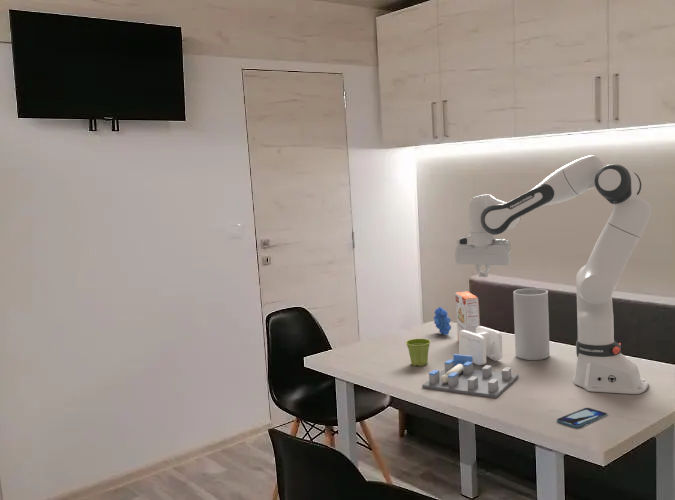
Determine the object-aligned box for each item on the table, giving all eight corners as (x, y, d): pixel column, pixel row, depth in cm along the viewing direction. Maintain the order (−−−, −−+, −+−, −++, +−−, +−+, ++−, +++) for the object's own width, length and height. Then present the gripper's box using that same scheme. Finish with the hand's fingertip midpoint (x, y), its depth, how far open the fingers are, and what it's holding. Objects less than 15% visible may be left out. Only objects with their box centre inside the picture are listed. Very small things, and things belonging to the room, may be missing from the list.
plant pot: (415, 369, 248) (413, 346, 247) (402, 363, 257) (401, 341, 255) (436, 364, 252) (435, 342, 251) (423, 358, 260) (422, 337, 259)
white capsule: (457, 369, 240) (458, 361, 239) (464, 372, 239) (466, 364, 238) (438, 382, 227) (440, 374, 226) (446, 386, 225) (448, 378, 225)
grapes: (427, 333, 298) (426, 306, 297) (440, 330, 301) (439, 304, 299) (441, 338, 288) (440, 311, 286) (455, 335, 290) (453, 308, 289)
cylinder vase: (547, 351, 259) (545, 287, 256) (551, 360, 247) (550, 294, 244) (514, 351, 261) (511, 289, 258) (517, 361, 249) (514, 295, 246)
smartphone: (609, 413, 194) (577, 426, 185) (609, 416, 194) (577, 429, 185) (586, 407, 200) (555, 419, 191) (586, 410, 200) (555, 422, 191)
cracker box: (456, 340, 283) (454, 291, 281) (470, 338, 284) (468, 290, 281) (466, 349, 269) (464, 298, 267) (481, 347, 270) (479, 296, 267)
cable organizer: (504, 362, 248) (503, 332, 247) (481, 368, 244) (480, 337, 243) (480, 353, 262) (478, 324, 260) (457, 358, 258) (456, 329, 256)
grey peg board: (518, 377, 231) (517, 360, 230) (496, 398, 213) (495, 380, 212) (448, 369, 245) (447, 353, 245) (422, 387, 227) (421, 370, 226)
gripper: (512, 238, 238) (514, 276, 240) (459, 238, 250) (461, 274, 251) (507, 240, 233) (508, 279, 235) (452, 240, 245) (454, 277, 246)
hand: (483, 276), depth 243 cm, fingers closed
